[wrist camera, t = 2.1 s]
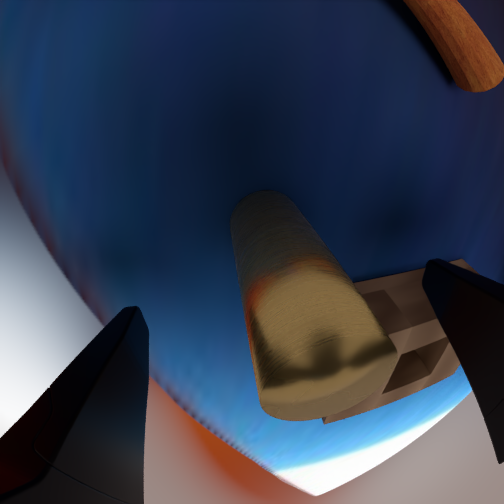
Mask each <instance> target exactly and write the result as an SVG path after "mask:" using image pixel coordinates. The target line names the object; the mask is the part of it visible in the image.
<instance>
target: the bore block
mask: <svg viewBox="0 0 504 504" xmlns="http://www.w3.org/2000/svg"><path fill="white" fill-rule="evenodd" d="M449 263H452V264H454V265H457V266H459V267H462V268H464V269H467V270H469V271H472V272H474V273H477V272H476V271H475V270H474V269H473V268H472V267H471V266H470V265H468V264H467V263H466V262H465V261H464V260H463V259H459V260H455V261H451V262H449ZM424 271H425V268H422V269H418V270H413V271H409V272H404V273H400V274H395V275H391V276H386V277H381V278H376V279H371V280H366V281H361V282H356V283H354V285H355V286H356V288H357V289H358V291H359V292H360V293H361V295H362V296H363V298H364V299H365V301H366V302H367V304H368V305H369V307H370V308H371V310H372V311H373V313H374V314H375V316H376V317H377V319H378V320H379V322H380V323H381V325H382V326H383V328H384V329H385V331H386V333H387V334H388V336H389V337H390V339H391V340H392V342H393V344H394V345H395V347H396V349H397V352H398V358H397V363H396V365H395V368H394V370H393V371H392V373H391V375H390V376H389V377H388V379H387V380H386V381H385V382H384V383H383V384H382V385H381V386H380V387H379V388H378V389H377V390H376V391H375V392H374V393H372V394H371V395H370V396H368V397H367V398H365V399H364V400H362V401H361V402H359V403H357V404H356V405H354V406H352V407H350V408H348V409H346V410H343V411H341V412H339V413H336V414H333V415H330V416H326V417H323V418H322V420H323V423H324V424H327V423H331V422H335V421H338V420H342V419H345V418H348V417H351V416H355V415H358V414H361V413H364V412H367V411H370V410H373V409H375V408H378V407H381V406H384V405H386V404H389V403H392V402H394V401H397V400H399V399H402V398H404V397H406V396H409V395H411V394H413V393H416V392H418V391H420V390H422V389H424V388H427V387H429V386H431V385H433V384H435V383H437V382H439V381H441V380H443V379H445V378H447V377H449V376H451V375H453V374H454V373H455V371H456V370H457V368H458V367H459V365H460V362H459V360H458V358H457V356H456V354H455V352H454V350H453V348H452V346H451V344H450V342H449V340H448V338H447V336H446V335H445V333H444V331H443V329H442V327H441V325H440V323H439V321H438V319H437V317H436V315H435V313H434V310H433V308H432V306H431V304H430V302H429V300H428V298H427V296H426V294H425V292H424V290H423V287H422V278H423V274H424ZM477 274H479V273H477ZM479 275H480V274H479Z"/></svg>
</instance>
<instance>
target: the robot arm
mask: <svg viewBox="0 0 504 504" xmlns="http://www.w3.org/2000/svg"><path fill="white" fill-rule="evenodd" d="M422 287H423V290H424V292H425V294H426V296H427V298H428V300H429V302H430V304H431V306H432V308H433V310H434V313H435V315H436V317H437V319H438V321H439V323H440V325H441V327H442V329H443V331H444V333H445V335H446V336H447V338H448V340H449V342H450V344H451V346H452V348H453V350H454V352H455V354H456V356H457V358H458V360H459V362H460V364H461V366H462V368H463V370H464V372H465V374H466V377H467V379H468V381H469V383H470V385H471V388H472V390H473V392H474V394H475V397H476V399H477V402H478V404H479V407H480V409H481V412H482V415H483V417H484V421H485V423H486V426H487V429H488V432H489V435H490V438H491V441H492V444H493V447H494V450H495V454H496V457H497V461H498V463H499V464H501V463H503V462H504V285H503V284H500V283H498V282H496V281H493V280H491V279H489V278H486V277H484V276H482V275H479V274H477V273H474V272H472V271H469V270H467V269H464V268H462V267H459V266H457V265H454V264H452V263H449V262H447V261H444V260H441V259H438V258H436V259H432V260H429V261H428V262H427V264H426V267H425V271H424V274H423V278H422ZM148 384H149V330H148V327H147V324H146V322H145V319H144V317H143V315H142V312H141V310H140V308H139V307H137V306H130V307H125V308H123V309H122V310H121V311H120V312H119V313H118V314H117V315H116V316H115V317H114V318H113V319H112V320H111V321H110V322H109V323H108V324H107V325H106V326H105V327H104V328H103V330H101V331H100V332H99V334H98V335H97V336H96V337H95V338H94V339H93V340H92V341H91V342H90V343H89V344H88V345H87V346H86V347H85V348H84V349H83V350H82V351H81V352H80V353H79V355H78V356H77V357H76V358H75V359H74V360H73V361H72V362H71V363H70V364H69V365H68V366H67V367H66V369H65V370H64V371H63V372H62V373H61V374H60V375H59V376H58V377H57V378H56V379H55V381H54V382H53V383H52V384H51V385H50V388H47V390H46V391H45V392H44V393H43V394H42V395H41V396H40V398H39V399H38V400H37V401H36V402H35V403H34V404H33V405H32V406H31V407H30V409H29V410H28V411H27V412H26V413H25V414H24V415H23V416H22V417H21V418H20V419H19V420H18V421H17V422H16V423H15V424H14V425H13V426H12V427H11V428H10V429H9V430H8V431H7V432H6V433H5V434H4V435H3V436H2V437H1V438H0V504H144V483H143V482H144V479H143V478H144V476H143V475H144V472H143V471H144V440H145V422H146V408H147V396H148Z"/></svg>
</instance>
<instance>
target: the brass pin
mask: <svg viewBox="0 0 504 504" xmlns="http://www.w3.org/2000/svg"><path fill="white" fill-rule="evenodd" d="M230 231H231V238H232V244H233V250H234V257H235V263H236V269H237V275H238V281H239V287H240V293H241V299H242V305H243V311H244V317H245V323H246V329H247V334H248V340H249V346H250V351H251V357H252V363H253V368H254V374H255V379H256V384H257V390H258V395H259V401H260V405H261V407H262V409H263V410H264V411H265V412H266V413H267V414H269V415H270V416H272V417H275V418H278V419H281V420H288V421H305V420H313V419H318V418H323V417H326V416H330V415H333V414H336V413H339V412H341V411H343V410H346V409H348V408H350V407H352V406H354V405H356V404H357V403H359V402H361V401H362V400H364V399H365V398H367V397H368V396H370V395H371V394H372V393H374V392H375V391H376V390H377V389H378V388H379V387H380V386H381V385H382V384H383V383H384V382H385V381H386V380H387V379H388V377H389V376H390V375H391V373H392V371H393V370H394V368H395V365H396V363H397V358H398V352H397V349H396V347H395V345H394V344H393V342H392V340H391V339H390V337H389V336H388V334H387V333H386V331H385V329H384V328H383V326H382V325H381V323H380V322H379V320H378V319H377V317H376V316H375V314H374V313H373V311H372V310H371V308H370V307H369V305H368V304H367V302H366V301H365V299H364V298H363V296H362V295H361V293H360V292H359V291H358V289H357V288H356V286H355V285H354V283H353V282H352V281H351V279H350V278H349V276H348V275H347V273H346V272H345V271H344V269H343V268H342V266H341V265H340V264H339V262H338V261H337V259H336V258H335V257H334V255H333V254H332V253H331V251H330V250H329V249H328V247H327V246H326V245H325V243H324V242H323V240H322V239H321V238H320V236H319V235H318V234H317V233H316V231H315V230H314V229H313V227H312V226H311V225H310V223H309V222H308V221H307V219H306V218H305V217H304V216H303V214H302V213H301V212H300V210H299V209H298V208H297V207H296V205H295V204H294V203H293V202H292V200H291V199H290V198H288V197H287V196H286V195H284V194H282V193H280V192H277V191H272V190H262V191H257V192H254V193H252V194H249V195H248V196H246V197H245V198H243V199H242V200H241V201H240V202H239V203H238V204H237V206H236V207H235V209H234V210H233V212H232V215H231V219H230Z"/></svg>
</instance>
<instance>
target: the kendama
mask: <svg viewBox="0 0 504 504" xmlns="http://www.w3.org/2000/svg"><path fill="white" fill-rule="evenodd" d="M403 1H404V2H405V3H406V4H407V6H408V7H409V8H410V10H411V11H412V12H413V14H414V15H415V16H416V18H417V19H418V21H419V22H420V23H421V25H422V26H423V28H424V29H425V31H426V32H427V34H428V35H429V37H430V39H431V40H432V42H433V43H434V45H435V47H436V48H437V50H438V52H439V53H440V55H441V57H442V58H443V60H444V62H445V64H446V66H447V68H448V69H449V71H450V73H451V75H452V77H453V79H454V81H455V83H456V85H457V86H458V87H460V88H461V89H463V90H465V91H470V92H483V91H487V90H489V89H491V88H494V87H495V86H496V85H498V84H499V83H500V82H501V81H502V79H503V76H504V65H503V63H502V61H501V60H500V58H499V56H498V55H497V53H496V52H495V50H494V49H493V47H492V46H491V44H490V43H489V41H488V40H487V38H486V37H485V35H484V34H483V33H482V31H481V30H480V28H479V27H478V26H477V24H476V23H475V22H474V21H473V19H472V18H471V17H470V15H469V14H468V13H467V12H466V11H465V9H464V8H463V7H462V6H461V5H460V3H459V2H458V1H457V0H403Z"/></svg>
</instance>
